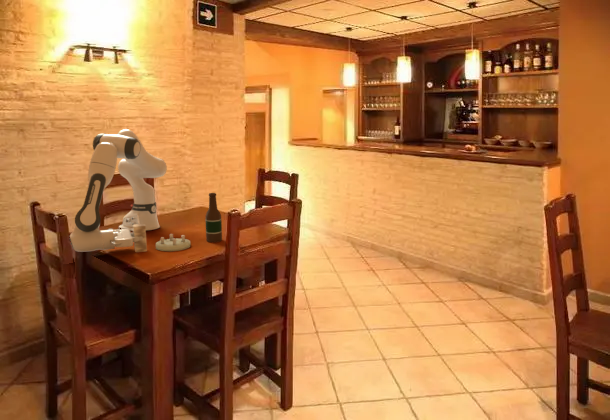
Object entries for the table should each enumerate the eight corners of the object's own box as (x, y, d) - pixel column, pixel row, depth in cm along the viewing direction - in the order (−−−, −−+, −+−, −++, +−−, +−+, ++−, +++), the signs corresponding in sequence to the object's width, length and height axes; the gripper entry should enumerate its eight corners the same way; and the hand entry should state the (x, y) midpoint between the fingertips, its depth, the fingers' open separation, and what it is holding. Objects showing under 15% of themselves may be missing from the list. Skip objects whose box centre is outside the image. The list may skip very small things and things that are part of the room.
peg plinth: (158, 252, 223) (157, 242, 222) (154, 244, 238) (153, 234, 237) (193, 249, 230) (192, 238, 229) (187, 241, 244) (186, 231, 243)
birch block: (135, 252, 224) (133, 226, 222) (134, 249, 229) (132, 224, 226) (147, 251, 226) (145, 225, 224) (145, 248, 231) (144, 223, 228)
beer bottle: (214, 237, 250) (212, 191, 246) (225, 240, 246) (223, 192, 241) (203, 241, 244) (201, 193, 239) (214, 243, 240) (212, 195, 235)
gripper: (110, 237, 211) (143, 234, 216) (108, 227, 230) (139, 225, 235) (111, 252, 212) (144, 248, 218) (109, 240, 231) (140, 238, 236)
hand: (141, 236), depth 226 cm, fingers closed on birch block, 5 cm apart
